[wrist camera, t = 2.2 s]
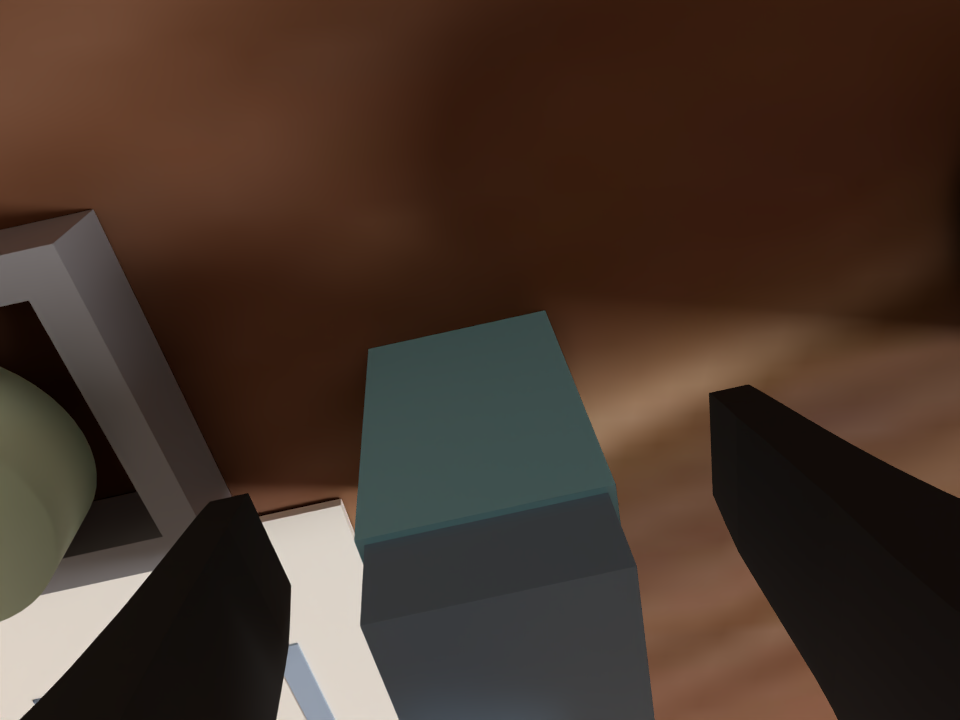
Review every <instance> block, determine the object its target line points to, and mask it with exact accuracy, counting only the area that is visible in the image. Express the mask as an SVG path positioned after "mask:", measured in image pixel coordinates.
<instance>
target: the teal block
mask: <svg viewBox="0 0 960 720" xmlns="http://www.w3.org/2000/svg"><path fill="white" fill-rule="evenodd" d="M354 542H355V545H356V547H357V550H358V552H359V555H360V557H361V560H362V563H363V580H362V597H361V615H360V627H361V630H362V632H363V634H364V637H365V639H366V642H367V644H368V647H369V649H370V651H371V654H372V656H373V659H374V661H375V663H376V666H377V668H378V671H379V673H380V675H381V678H382V680H383V683H384V685H385V688H386V690H387V692H388V695H389V697H390V700H391V702H392V704H393V707H394V709H395V712H396V714H397V716H398V719H399V720H655V719H654V710H653V702H652V693H651V685H650V676H649V668H648V659H647V650H646V642H645V633H644V625H643V616H642V608H641V599H640V590H639V582H638V573H637V566H636V563H635V561H634V558H633V555H632V553H631V550H630V548H629V545H628V542H627V540H626V537H625V535H624V532H623V529H622V527H621V523H620V515H619V507H618V500H617V492H616V484H615V482H614V479H613V477H612V474H611V472H610V469H609V467H608V464H607V462H606V459H605V457H604V455H603V452H602V450H601V447H600V445H599V442H598V440H597V437H596V435H595V432H594V430H593V427H592V425H591V422H590V420H589V418H588V415H587V413H586V410H585V408H584V405H583V403H582V400H581V398H580V395H579V393H578V390H577V388H576V385H575V383H574V380H573V378H572V376H571V373H570V371H569V368H568V366H567V363H566V361H565V358H564V356H563V353H562V351H561V348H560V346H559V343H558V341H557V339H556V336H555V334H554V331H553V329H552V326H551V324H550V321H549V319H548V316H547V314H546V311H545V310H544V311H540V312H535V313H531V314H526V315H521V316H517V317H512V318H508V319H503V320H499V321H494V322H489V323H485V324H480V325H476V326H471V327H467V328H462V329H458V330H453V331H448V332H444V333H439V334H435V335H430V336H426V337H421V338H416V339H412V340H407V341H403V342H398V343H394V344H389V345H385V346H380V347H375V348H371V349H368V362H367V375H366V388H365V402H364V415H363V428H362V442H361V455H360V468H359V482H358V495H357V508H356V522H355V535H354Z"/></svg>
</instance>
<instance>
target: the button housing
mask: <svg viewBox="0 0 960 720" xmlns="http://www.w3.org/2000/svg"><path fill="white" fill-rule="evenodd" d="M24 301H29V302H30V303H31V305H32V307H33V309H34V311H35V312H36V314H37V316H38V318H39V319H40V321H41V323H42V325H43V326H44V328H45V330H46V332H47V333H48V335H49V337H50V339H51V340H52V342H53V344H54V346H55V348H56V349H57V351H58V353H59V355H60V356H61V358H62V360H63V362H64V363H65V365H66V367H67V369H68V370H69V372H70V374H71V376H72V377H73V379H74V381H75V383H76V385H77V386H78V388H79V390H80V392H81V393H82V395H83V397H84V399H85V400H86V402H87V404H88V406H89V407H90V409H91V411H92V413H93V415H94V416H95V418H96V420H97V422H98V423H99V425H100V427H101V429H102V430H103V432H104V434H105V436H106V437H107V439H108V441H109V443H110V444H111V446H112V448H113V450H114V452H115V453H116V455H117V457H118V459H119V460H120V462H121V464H122V466H123V467H124V469H125V471H126V473H127V474H128V476H129V478H130V480H131V481H132V483H133V485H134V487H135V489H136V490H137V492H134V493H130V494H125V495H120V496H116V497H111V498H107V499H102V500H98V501H93V502H92V504H91V507H90V509H89V511H88V513H87V515H86V516H85V518H84V520H83V522H82V524H81V526H80V527H79V529H78V531H77V533H76V535H75V536H74V538H73V540H72V542H71V544H70V546H69V547H68V549H67V551H66V553H65V555H64V556H63V558H62V560H61V562H60V564H59V565H58V567H57V569H56V571H55V573H54V575H53V576H52V578H51V580H50V582H49V583H48V585H47V586H46V588H45V589H44V591H43V592H42V594H41V595H44V594H49V593H54V592H58V591H63V590H67V589H72V588H77V587H81V586H86V585H90V584H95V583H100V582H104V581H109V580H114V579H118V578H123V577H127V576H132V575H137V574H141V573H146V572H150V571H153V570H154V569H155V568H156V566H157V565H158V564H159V563H160V561H161V560H162V559H163V558H164V556H165V555H166V554H167V553H168V551H169V550H170V549H171V548H172V546H173V545H174V544H175V543H176V541H177V540H178V539H179V538H180V536H181V535H182V534H183V533H184V531H185V530H186V529H187V528H188V526H189V525H190V524H191V523H192V521H193V520H194V519H195V518H196V517H197V515H198V514H199V513H200V512H201V511H202V510H203V508H204V507H205V506H206V505H207V504H208V503H209V502H210V501H214V500H219V499H224V498H228V497H232V496H231V494H230V492H229V490H228V487H227V485H226V483H225V481H224V479H223V477H222V475H221V473H220V471H219V469H218V467H217V465H216V463H215V461H214V458H213V456H212V454H211V452H210V450H209V448H208V446H207V444H206V442H205V440H204V438H203V436H202V434H201V432H200V429H199V427H198V425H197V423H196V421H195V419H194V417H193V415H192V413H191V411H190V409H189V407H188V405H187V403H186V400H185V398H184V396H183V394H182V392H181V390H180V388H179V386H178V384H177V382H176V380H175V378H174V376H173V374H172V371H171V369H170V367H169V365H168V363H167V361H166V359H165V357H164V355H163V353H162V351H161V349H160V347H159V345H158V342H157V340H156V338H155V336H154V334H153V332H152V330H151V328H150V326H149V324H148V322H147V320H146V318H145V316H144V313H143V311H142V309H141V307H140V305H139V303H138V301H137V299H136V297H135V295H134V293H133V291H132V289H131V287H130V284H129V282H128V280H127V278H126V276H125V274H124V272H123V270H122V268H121V266H120V264H119V262H118V260H117V258H116V255H115V253H114V251H113V249H112V247H111V245H110V243H109V241H108V239H107V237H106V235H105V233H104V231H103V228H102V226H101V224H100V222H99V220H98V218H97V216H96V214H95V212H94V210H93V209H92V210H88V211H83V212H79V213H74V214H70V215H65V216H61V217H56V218H52V219H47V220H43V221H38V222H34V223H29V224H25V225H20V226H16V227H11V228H7V229H2V230H0V307H2V306H6V305H11V304H15V303H20V302H24Z"/></svg>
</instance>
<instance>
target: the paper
mask: <svg viewBox="0 0 960 720" xmlns="http://www.w3.org/2000/svg"><path fill="white" fill-rule="evenodd" d="M259 518H260V520H261V522H262V524H263V526H264V528H265V530H266V532H267V535H268V537H269V539H270V541H271V543H272V545H273V547H274V549H275V552H276V554H277V556H278V558H279V560H280V562H281V564H282V567H283V569H284V571H285V573H286V575H287V577H288V579H289V581H290V584H291V612H290V633H289V648H288V655H287V661H286V667H285V673H284V679H283V685H282V690H281V696H280V702H279V708H278V713H277V719H276V720H399V719H398V716H397V714H396V712H395V709H394V707H393V704H392V702H391V700H390V697H389V695H388V692H387V690H386V688H385V685H384V683H383V680H382V678H381V675H380V673H379V671H378V668H377V666H376V663H375V661H374V659H373V656H372V654H371V651H370V649H369V647H368V644H367V642H366V639H365V637H364V634H363V632H362V630H361V627H360V615H361V597H362V580H363V563H362V560H361V557H360V555H359V552H358V550H357V547H356V545H355V542H354V535H355V533H354V530H353V528H352V525H351V523H350V520H349V517H348V515H347V512H346V509H345V507H344V504H343V502H342V499H337V500H332V501H328V502H323V503H319V504H314V505H309V506H305V507H300V508H296V509H291V510H286V511H282V512H277V513H273V514H268V515H263V516H259ZM151 572H152V571H150V572H146V573H141V574H137V575H132V576H127V577H123V578H118V579H114V580H109V581H104V582H100V583H95V584H90V585H86V586H81V587H77V588H72V589H67V590H63V591H58V592H54V593H49V594H44V595H40V596H39V597H38V598H37V599H36V600H35V601H34V602H33V603H32V604H31V605H29V606H28V607H27V608H25V609H24V610H23V611H21V612H19V613H17V614H16V615H14V616H12V617H10V618H8V619H6V620H3V621H1V622H0V720H20V719H21V718H22V717H23V716H24V715H25V714H26V713H27V712H28V711H29V710H30V709H31V708H32V707H33V706H34V705H35V704H36V703H37V702H38V701H39V700H40V699H41V698H42V697H43V696H44V695H45V694H46V692H47V691H48V690H49V689H50V688H51V687H52V686H53V685H54V684H55V683H56V682H57V681H58V680H59V679H60V678H61V677H62V676H63V675H64V674H65V673H66V671H67V670H68V669H69V668H70V667H71V666H72V665H73V664H74V662H75V661H76V660H77V659H78V658H79V657H80V656H81V655H82V653H83V652H84V651H85V650H86V649H87V648H88V647H89V646H90V644H91V643H92V642H93V641H94V640H95V639H96V638H97V636H98V635H99V634H100V633H101V632H102V631H103V630H104V629H105V627H106V626H107V625H108V624H109V623H110V622H111V621H112V619H113V618H114V617H115V616H116V615H117V614H118V613H119V612H120V610H121V609H122V608H123V607H124V606H125V604H126V603H127V602H128V601H129V599H130V598H131V597H132V596H133V595H134V593H135V592H136V591H137V590H138V588H139V587H140V586H141V585H142V584H143V582H144V581H145V580H146V579H147V577H148V576H149V575H150V574H151Z"/></svg>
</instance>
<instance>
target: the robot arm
mask: <svg viewBox="0 0 960 720" xmlns="http://www.w3.org/2000/svg"><path fill="white" fill-rule="evenodd" d="M709 403H710V430H711V457H712V484H713V496H714V498H715V500H716V503H717V505H718V507H719V510H720V512H721V514H722V517H723V519H724V521H725V523H726V526H727V528H728V530H729V532H730V534H731V537H732V539H733V541H734V543H735V545H736V547H737V550H738V552H739V553H740V555H741V557H742V558H743V560H744V562H745V563H746V565H747V567H748V568H749V570H750V572H751V573H752V575H753V577H754V578H755V580H756V582H757V583H758V585H759V587H760V588H761V590H762V592H763V593H764V595H765V597H766V598H767V600H768V601H769V603H770V605H771V606H772V608H773V610H774V611H775V613H776V615H777V616H778V618H779V619H780V621H781V623H782V624H783V626H784V628H785V629H786V631H787V632H788V634H789V636H790V637H791V639H792V641H793V642H794V644H795V646H796V647H797V649H798V650H799V652H800V654H801V655H802V657H803V659H804V660H805V662H806V663H807V665H808V667H809V668H810V670H811V672H812V673H813V675H814V676H815V678H816V680H817V682H818V683H819V685H820V687H821V689H822V691H823V692H824V694H825V696H826V698H827V700H828V701H829V703H830V705H831V707H832V709H833V711H834V712H835V715H836V717H837V719H838V720H960V498H957V497H955V496H953V495H951V494H948V493H946V492H944V491H942V490H940V489H938V488H936V487H934V486H932V485H930V484H928V483H926V482H924V481H922V480H919V479H917V478H915V477H913V476H911V475H909V474H907V473H905V472H903V471H901V470H899V469H897V468H895V467H893V466H891V465H889V464H887V463H886V462H884V461H882V460H880V459H878V458H876V457H874V456H872V455H870V454H869V453H867V452H865V451H863V450H861V449H859V448H857V447H856V446H854V445H852V444H850V443H849V442H847V441H845V440H843V439H841V438H840V437H838V436H836V435H834V434H833V433H831V432H829V431H827V430H826V429H824V428H822V427H820V426H819V425H817V424H815V423H814V422H812V421H810V420H809V419H807V418H805V417H803V416H802V415H800V414H798V413H797V412H795V411H793V410H792V409H790V408H788V407H787V406H785V405H783V404H782V403H780V402H778V401H776V400H775V399H773V398H771V397H770V396H768V395H766V394H765V393H763V392H761V391H759V390H758V389H756V388H754V387H752V386H750V385H744V386H739V387H735V388H730V389H726V390H721V391H716V392H712V393H709ZM290 612H291V584H290V581H289V579H288V577H287V575H286V573H285V571H284V569H283V567H282V564H281V562H280V560H279V558H278V556H277V554H276V552H275V549H274V547H273V545H272V543H271V541H270V539H269V537H268V535H267V532H266V530H265V528H264V526H263V524H262V522H261V520H260V518H259V515H258V513H257V511H256V509H255V507H254V505H253V503H252V500H251V498H250V496H249V494H248V493H247V494H242V495H237V496H233V497H228V498H224V499H219V500H214V501H210V502H209V503H208V504H207V505H206V506H205V507H204V508H203V510H202V511H201V512H200V513H199V514H198V515H197V517H196V518H195V519H194V520H193V521H192V523H191V524H190V525H189V526H188V528H187V529H186V530H185V531H184V533H183V534H182V535H181V536H180V538H179V539H178V540H177V541H176V543H175V544H174V545H173V546H172V548H171V549H170V550H169V551H168V553H167V554H166V555H165V556H164V558H163V559H162V560H161V561H160V563H159V564H158V565H157V566H156V568H155V569H154V570H153V571H152V572H151V574H150V575H149V576H148V577H147V579H146V580H145V581H144V582H143V584H142V585H141V586H140V587H139V588H138V590H137V591H136V592H135V593H134V595H133V596H132V597H131V598H130V599H129V601H128V602H127V603H126V604H125V606H124V607H123V608H122V609H121V610H120V612H119V613H118V614H117V615H116V616H115V617H114V618H113V619H112V621H111V622H110V623H109V624H108V625H107V626H106V627H105V629H104V630H103V631H102V632H101V633H100V634H99V635H98V636H97V638H96V639H95V640H94V641H93V642H92V643H91V644H90V646H89V647H88V648H87V649H86V650H85V651H84V652H83V653H82V655H81V656H80V657H79V658H78V659H77V660H76V661H75V662H74V664H73V665H72V666H71V667H70V668H69V669H68V670H67V671H66V673H65V674H64V675H63V676H62V677H61V678H60V679H59V680H58V681H57V682H56V683H55V684H54V685H53V686H52V687H51V688H50V689H49V690H48V691H47V692H46V694H45V695H44V696H43V697H42V698H41V699H40V700H39V701H38V702H37V703H36V704H35V705H34V706H33V707H32V708H31V709H30V710H29V711H28V712H27V713H26V714H25V715H24V716H23V717H22V718H21V719H20V720H276V719H277V713H278V708H279V702H280V696H281V690H282V685H283V679H284V673H285V667H286V661H287V655H288V648H289V633H290Z"/></svg>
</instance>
